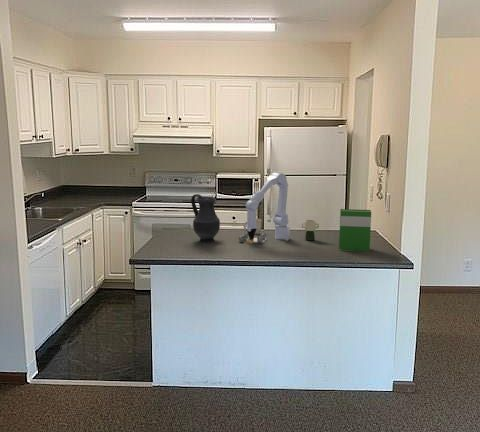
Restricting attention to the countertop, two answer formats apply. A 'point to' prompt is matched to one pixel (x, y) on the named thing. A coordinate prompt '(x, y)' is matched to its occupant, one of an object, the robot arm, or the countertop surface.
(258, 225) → the mug
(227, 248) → the countertop surface
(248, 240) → the faceted gold polyhedron
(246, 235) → the spacers
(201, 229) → the pitcher
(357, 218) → the green cereal box
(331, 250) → the countertop surface
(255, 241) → the plate
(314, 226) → the character mug
